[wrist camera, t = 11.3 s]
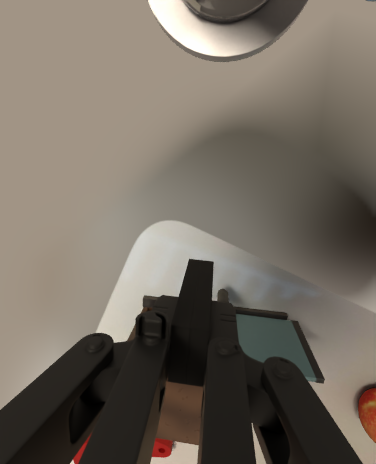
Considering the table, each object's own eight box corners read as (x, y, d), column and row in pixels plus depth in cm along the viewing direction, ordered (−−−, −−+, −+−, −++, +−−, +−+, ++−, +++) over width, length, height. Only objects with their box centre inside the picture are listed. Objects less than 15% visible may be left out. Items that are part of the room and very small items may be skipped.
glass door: (207, 280, 42) (203, 324, 31) (304, 291, 41) (335, 341, 30) (204, 313, 44) (199, 365, 33) (296, 324, 42) (323, 383, 32)
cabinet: (144, 295, 45) (114, 352, 32) (286, 313, 43) (316, 381, 30) (142, 358, 49) (115, 431, 36) (273, 377, 47) (294, 461, 34)
